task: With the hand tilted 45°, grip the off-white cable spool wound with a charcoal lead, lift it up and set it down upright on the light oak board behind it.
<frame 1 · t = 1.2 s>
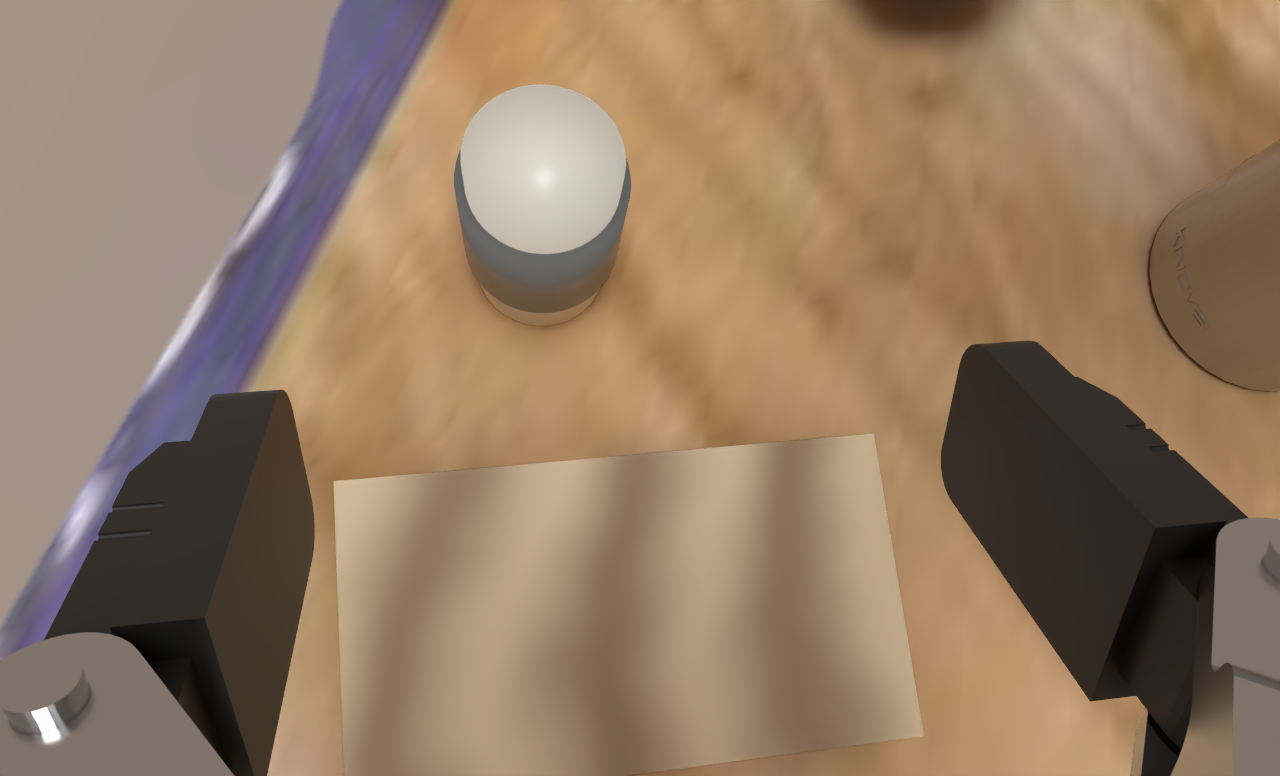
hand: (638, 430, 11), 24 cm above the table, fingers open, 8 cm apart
cable spool: (541, 265, 38), on the table
oak board: (626, 609, 35), on the table
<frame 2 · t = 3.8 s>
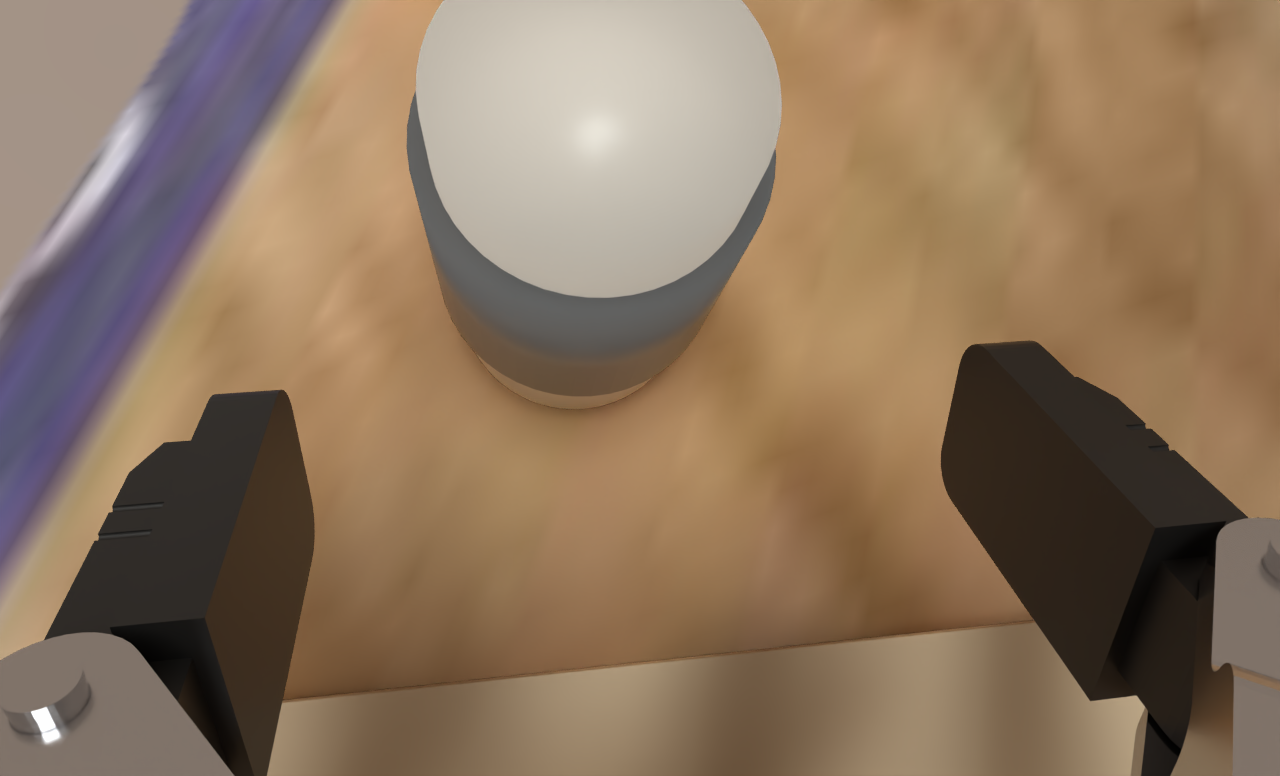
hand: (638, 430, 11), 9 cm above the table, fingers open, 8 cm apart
cable spool: (573, 302, 22), on the table
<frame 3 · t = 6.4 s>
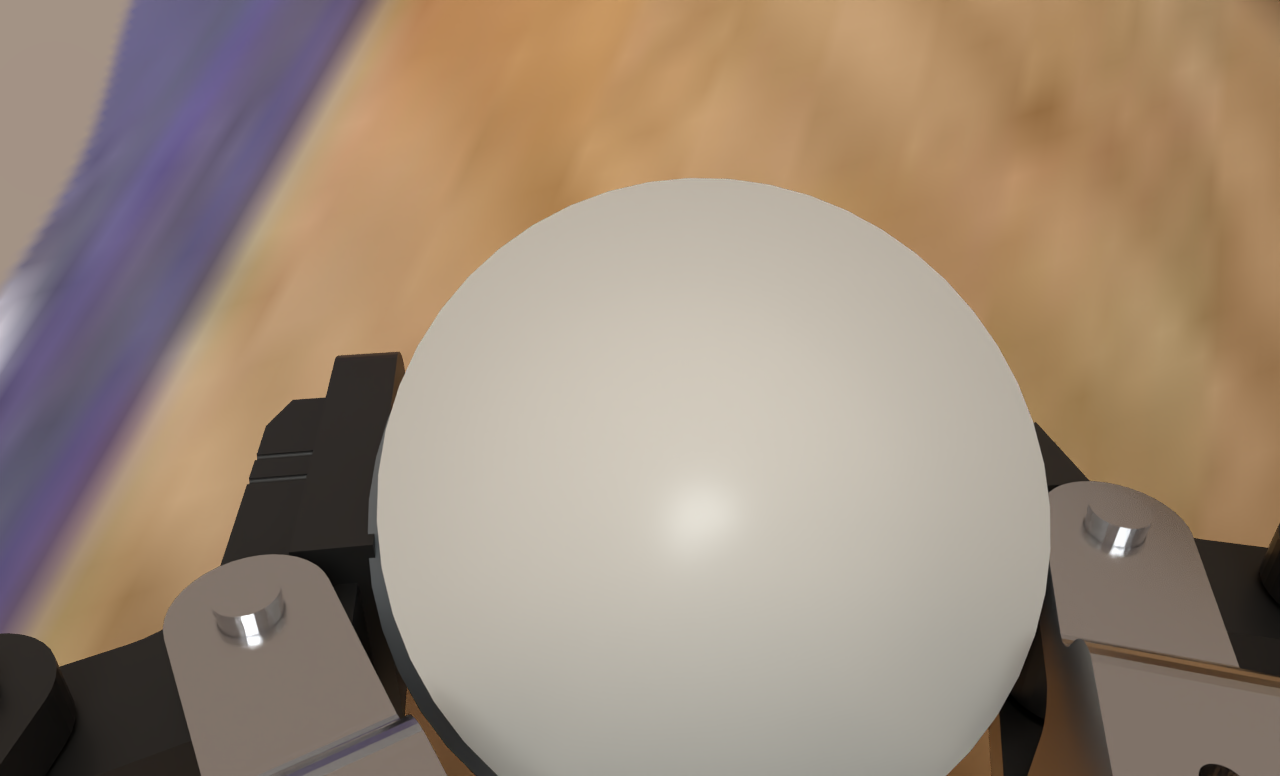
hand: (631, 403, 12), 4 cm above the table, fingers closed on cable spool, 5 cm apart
cable spool: (616, 565, 16), on the table, touching gripper
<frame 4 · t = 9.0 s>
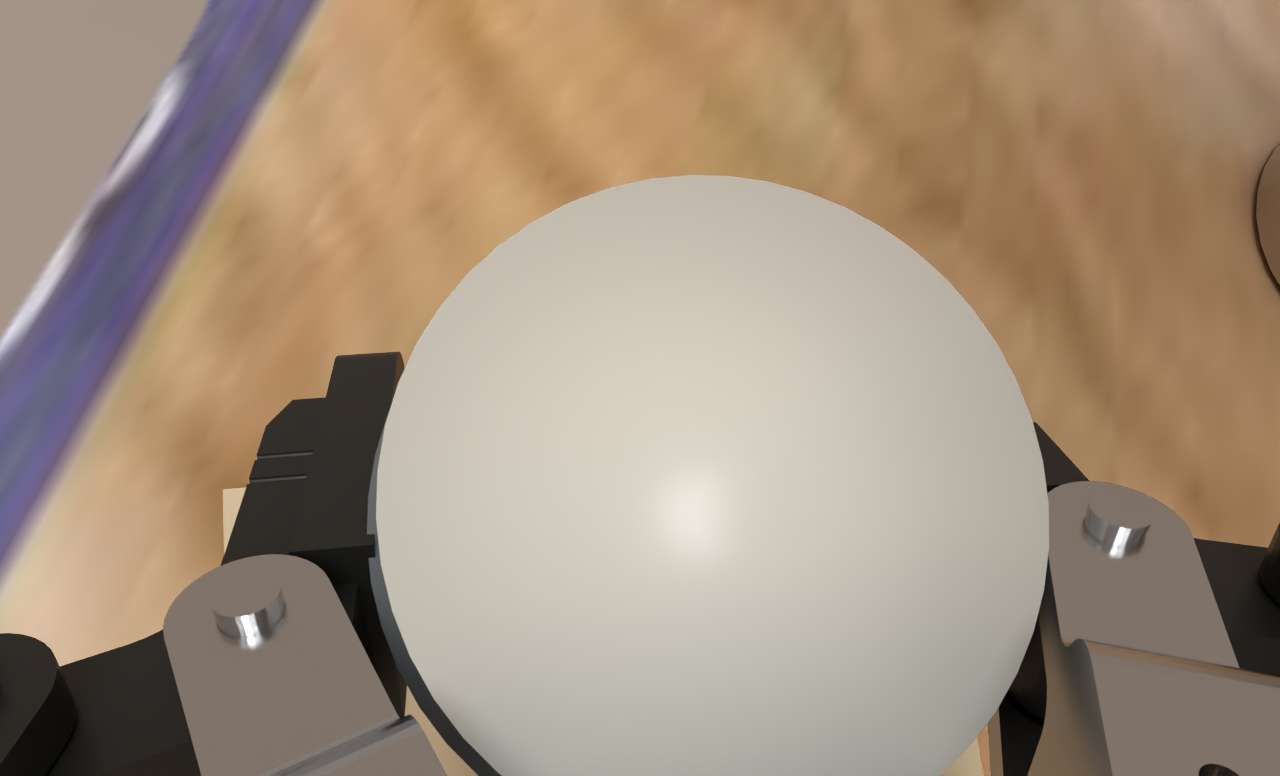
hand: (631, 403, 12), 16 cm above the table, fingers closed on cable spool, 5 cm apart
cable spool: (615, 563, 16), point 12 cm above the table, touching gripper
oak board: (605, 649, 27), on the table
when the fingers open (7 cm above the table, at t = 11.8 s): cable spool drops 1 cm, resting on oak board.
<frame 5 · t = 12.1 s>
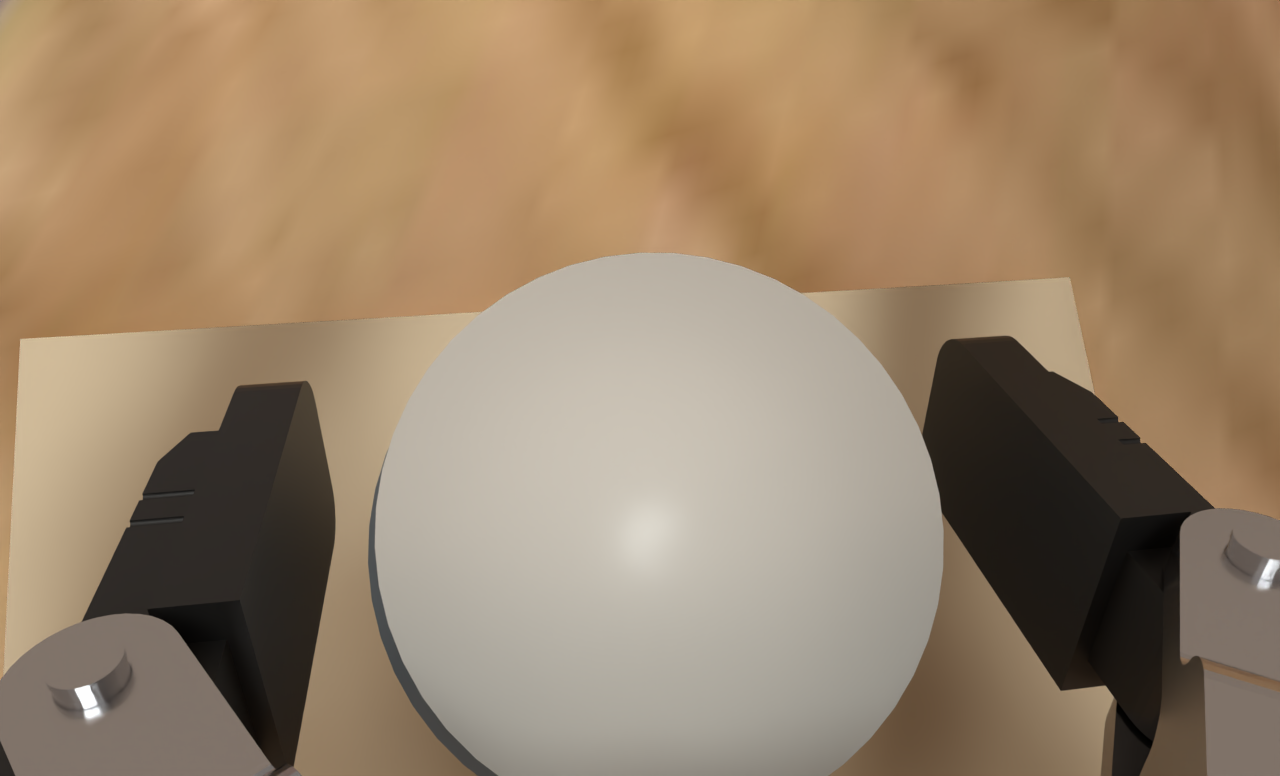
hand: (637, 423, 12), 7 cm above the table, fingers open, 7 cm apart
cable spool: (599, 577, 17), point 1 cm above the table, touching oak board
oak board: (605, 600, 18), on the table
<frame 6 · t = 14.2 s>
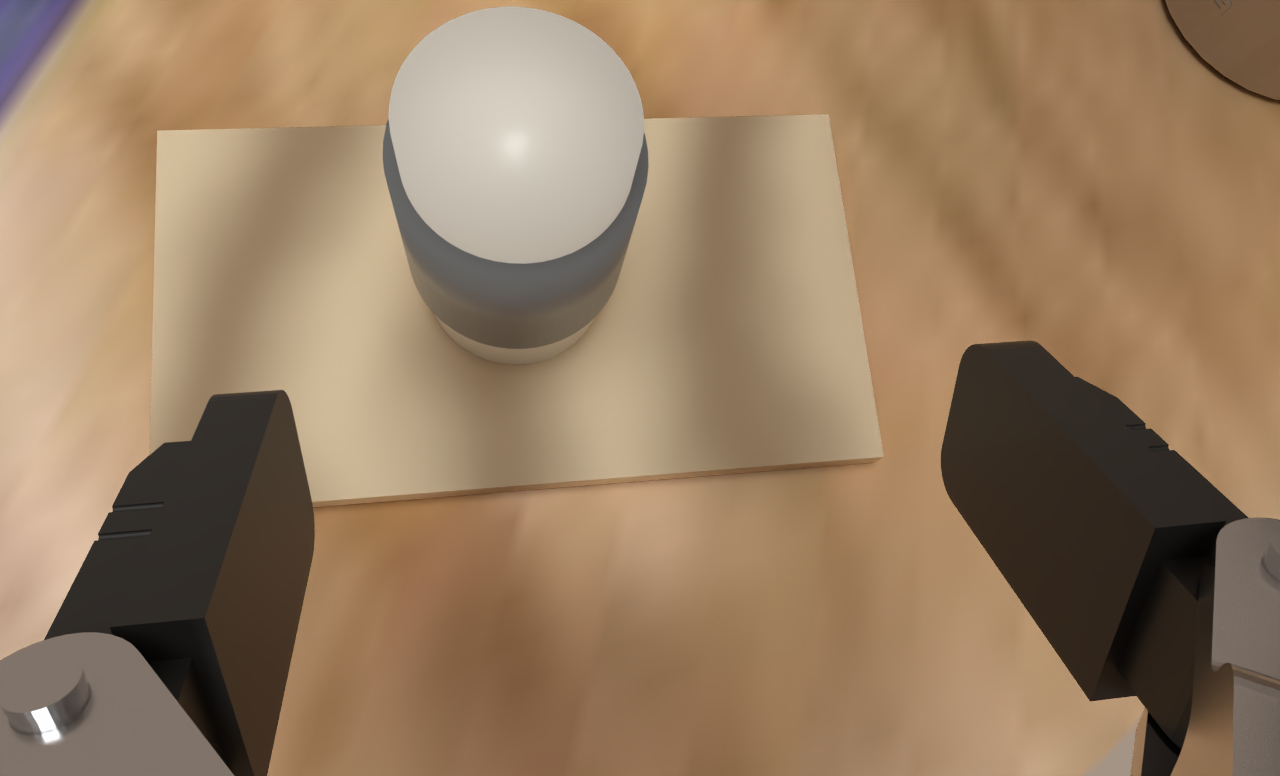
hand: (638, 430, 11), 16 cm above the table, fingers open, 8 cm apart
cable spool: (515, 281, 27), point 1 cm above the table, touching oak board
oak board: (522, 306, 28), on the table
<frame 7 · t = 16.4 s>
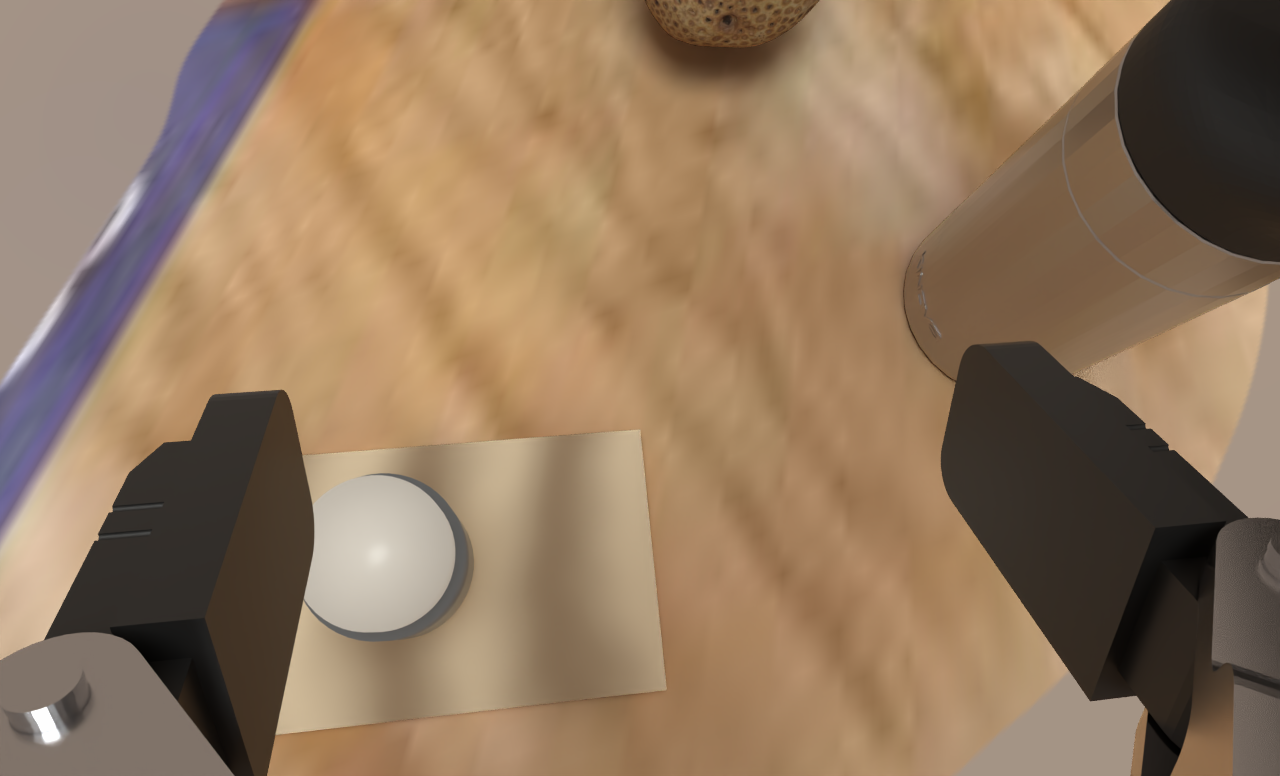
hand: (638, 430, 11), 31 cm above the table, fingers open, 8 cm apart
cable spool: (409, 569, 39), point 1 cm above the table, touching oak board
natural sponge: (712, 22, 49), on the table
oak board: (416, 579, 40), on the table
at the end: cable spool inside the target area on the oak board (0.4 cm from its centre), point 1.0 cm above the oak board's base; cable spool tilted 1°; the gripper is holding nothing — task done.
